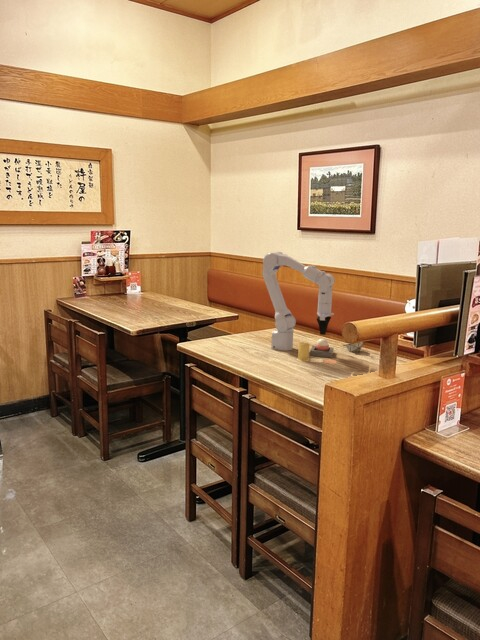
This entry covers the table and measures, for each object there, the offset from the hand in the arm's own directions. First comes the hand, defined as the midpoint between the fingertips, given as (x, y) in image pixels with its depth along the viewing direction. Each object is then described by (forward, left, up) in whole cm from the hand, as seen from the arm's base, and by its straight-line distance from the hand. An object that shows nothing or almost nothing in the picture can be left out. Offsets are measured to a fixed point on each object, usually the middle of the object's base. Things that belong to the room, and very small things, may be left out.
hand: (323, 333), depth 215 cm
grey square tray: (0, 0, -9) cm, 9 cm away
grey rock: (+13, +11, -10) cm, 20 cm away
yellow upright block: (-6, -11, -9) cm, 16 cm away
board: (0, -5, -10) cm, 11 cm away
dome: (0, 0, -7) cm, 7 cm away
